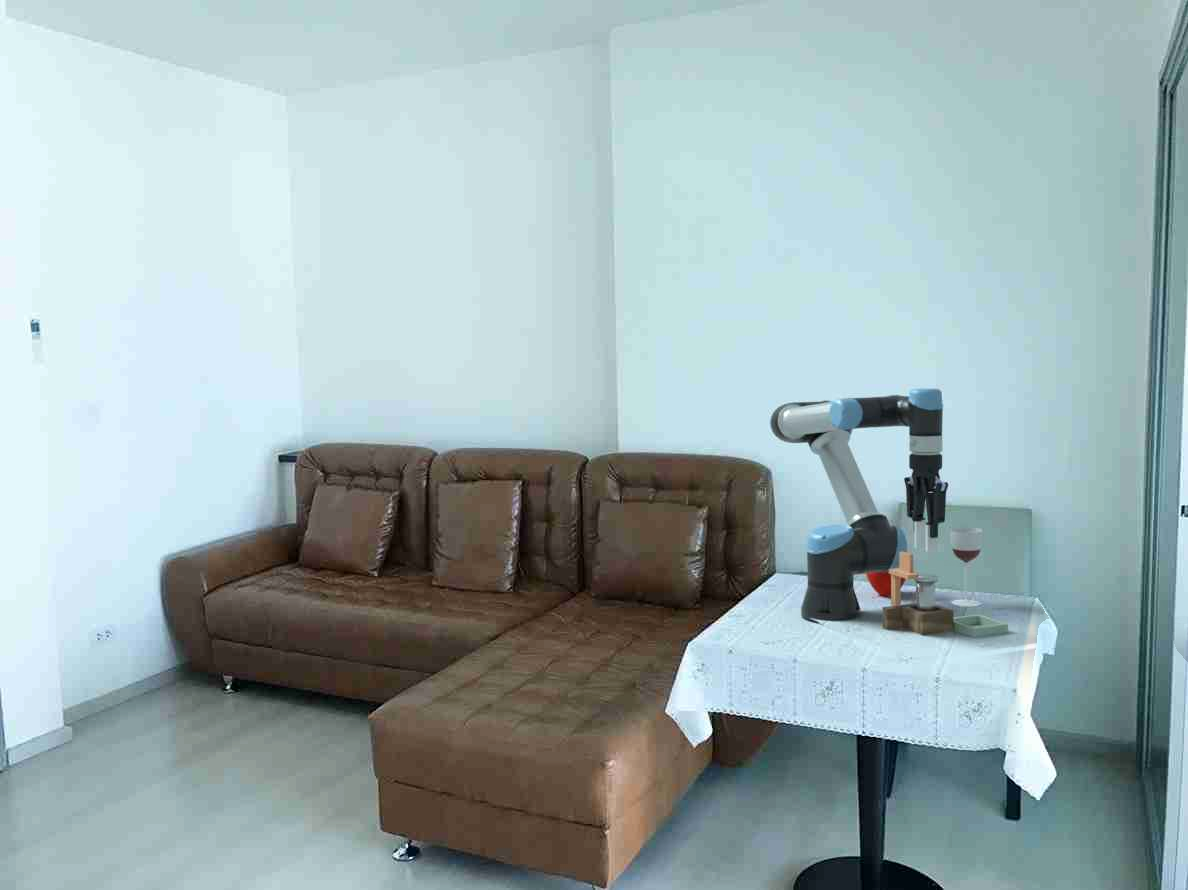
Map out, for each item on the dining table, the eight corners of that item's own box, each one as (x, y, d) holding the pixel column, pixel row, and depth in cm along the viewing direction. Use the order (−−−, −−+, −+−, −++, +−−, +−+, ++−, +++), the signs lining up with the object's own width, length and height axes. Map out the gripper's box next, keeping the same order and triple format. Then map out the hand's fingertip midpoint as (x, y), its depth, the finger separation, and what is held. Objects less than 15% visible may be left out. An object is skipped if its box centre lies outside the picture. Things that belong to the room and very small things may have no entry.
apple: (889, 587, 283) (889, 542, 282) (917, 596, 273) (918, 549, 272) (856, 592, 279) (856, 546, 277) (884, 601, 268) (884, 553, 267)
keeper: (888, 605, 239) (888, 551, 238) (899, 603, 240) (898, 550, 239) (908, 612, 232) (908, 557, 231) (918, 611, 233) (918, 555, 232)
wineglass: (945, 603, 264) (945, 530, 262) (958, 597, 270) (958, 526, 268) (974, 608, 258) (974, 533, 256) (987, 601, 265) (987, 529, 263)
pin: (908, 626, 240) (908, 574, 238) (927, 624, 242) (927, 572, 240) (923, 632, 234) (923, 579, 233) (942, 629, 236) (942, 577, 235)
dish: (945, 630, 239) (945, 618, 239) (978, 625, 242) (978, 614, 242) (973, 641, 229) (973, 629, 229) (1007, 636, 233) (1007, 624, 232)
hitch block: (882, 632, 239) (882, 607, 239) (928, 625, 244) (928, 601, 243) (906, 641, 231) (906, 616, 230) (953, 634, 235) (953, 609, 235)
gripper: (891, 451, 241) (891, 544, 243) (935, 456, 225) (935, 557, 227) (916, 449, 243) (916, 542, 245) (962, 454, 228) (961, 553, 230)
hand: (925, 549), depth 236 cm, fingers open, 3 cm apart
